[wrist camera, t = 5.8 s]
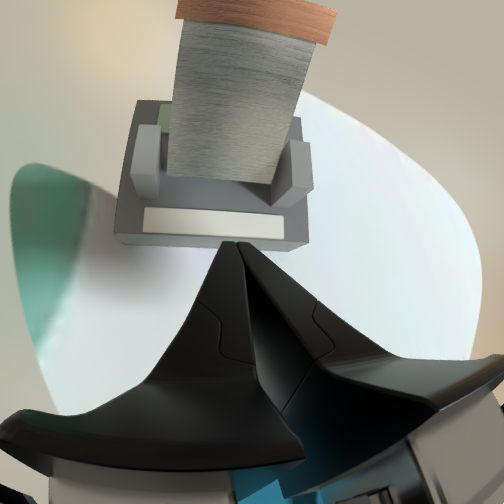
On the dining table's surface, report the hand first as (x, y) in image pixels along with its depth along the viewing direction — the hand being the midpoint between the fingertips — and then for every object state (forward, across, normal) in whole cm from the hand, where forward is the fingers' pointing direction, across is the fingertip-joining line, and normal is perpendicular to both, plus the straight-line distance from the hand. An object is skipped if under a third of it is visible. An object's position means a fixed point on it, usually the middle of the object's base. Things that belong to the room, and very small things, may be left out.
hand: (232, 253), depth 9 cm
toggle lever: (+6, 0, 0) cm, 6 cm away
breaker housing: (+9, 0, +2) cm, 9 cm away
